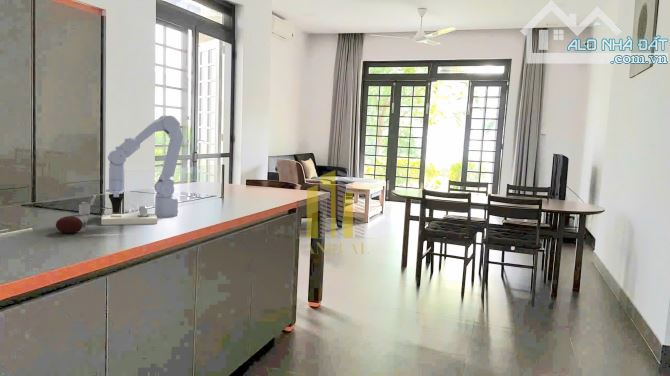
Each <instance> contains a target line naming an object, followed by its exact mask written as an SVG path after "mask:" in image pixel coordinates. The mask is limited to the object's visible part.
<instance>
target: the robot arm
mask: <svg viewBox="0 0 670 376" xmlns="http://www.w3.org/2000/svg"><path fill="white" fill-rule="evenodd" d="M157 132H165V133H166V134H167V137H168V138H169V143H168V147H167V151H166V154H165V158H164V163H163V166H162V170H161V173H160V175H159V176H158V180H157V181H156V182H155V184H154V186H153V187H154V191H155V192H156V194H155V196H154V200H155V201H154V214H156V216H157V217H163V218H164V217H166V218H167V217H178V214H179V209H178V207H179V202H178V200H179V199H178V197H177V196H174V195H173V194H174V193H175V186H174V183H175V177H174V175H175V171H176V167H177V164H178V159H179V156H180V152H181V147H182V144H183V139H184V136H183V132H182V128H181V123H180V122H179V120H178V119H177V118H176V117H175V116H173V115H164V114H163V115H160V117H158V118H157V119H155V120H153V121H152V122H151V123H149V125H147V126H146V127H145V128H144V129H143V130H142V131H141V132H139V133H138V134H137V135H136V136H135V137H128V138H126V137H125V139H124V142H122V143H121V144H120V145H119V146H115V148H114V150H111V151H110V152H109V154H108V156H107V160H108V162H109V164H108V166H109V167H108V189H105V192H106V193H107V192H108V193H109V194H108V198H109V201H110V204H111V208H112V209H111V211H112V210H113V213H119V210H120V211H121V205H122V204H121V203H122V202H123V200H124V196H125V195H124V192H125V162H126V161H127V158H130V157H131V156H132V155H134V153H136V152H137V151H138V150H139V149H140V148H141V143H143V142H144V141H146V140H147V139H148V138H149V137H151V136H152V135H153V134H155V133H157Z"/></svg>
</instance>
